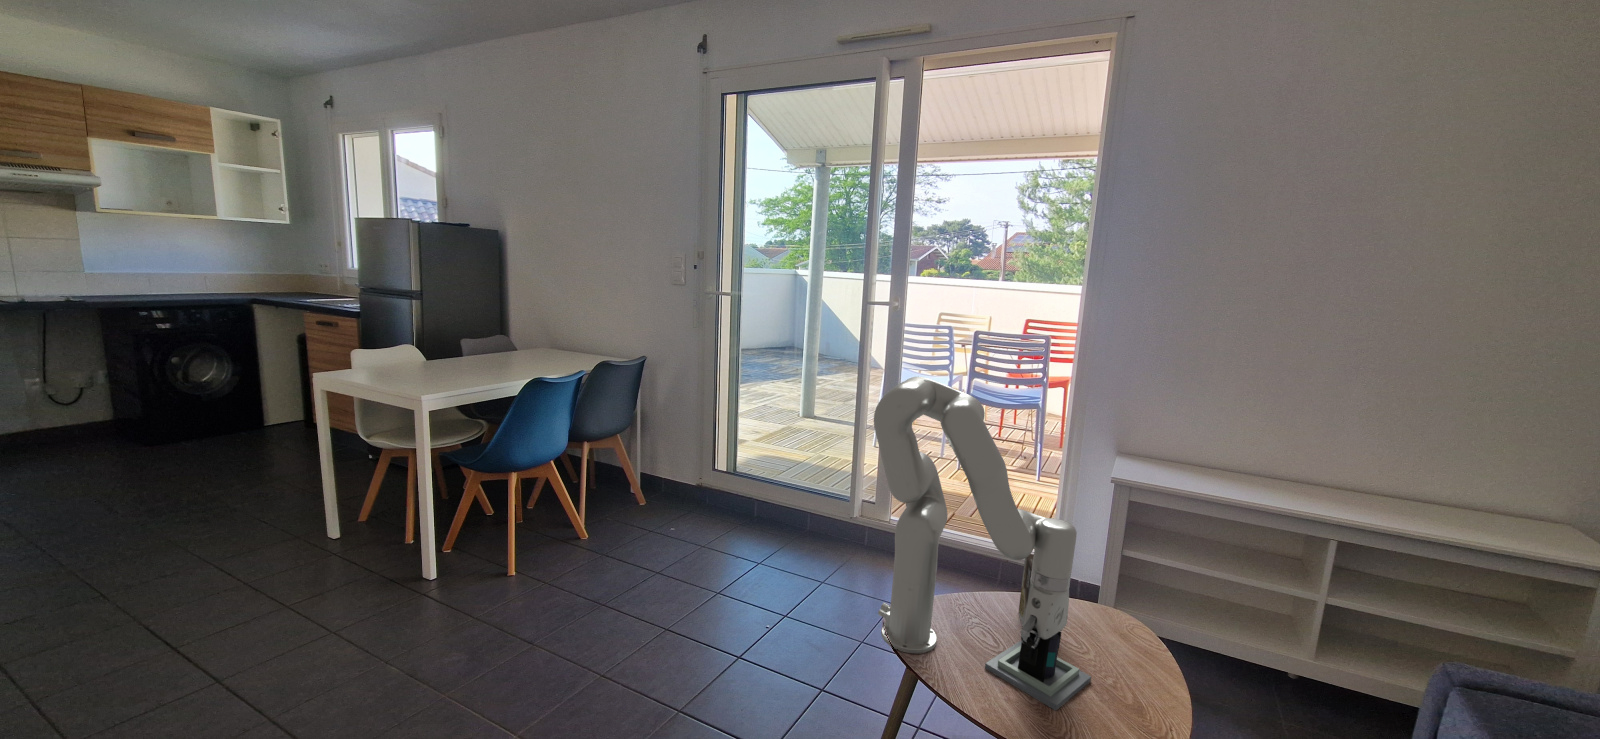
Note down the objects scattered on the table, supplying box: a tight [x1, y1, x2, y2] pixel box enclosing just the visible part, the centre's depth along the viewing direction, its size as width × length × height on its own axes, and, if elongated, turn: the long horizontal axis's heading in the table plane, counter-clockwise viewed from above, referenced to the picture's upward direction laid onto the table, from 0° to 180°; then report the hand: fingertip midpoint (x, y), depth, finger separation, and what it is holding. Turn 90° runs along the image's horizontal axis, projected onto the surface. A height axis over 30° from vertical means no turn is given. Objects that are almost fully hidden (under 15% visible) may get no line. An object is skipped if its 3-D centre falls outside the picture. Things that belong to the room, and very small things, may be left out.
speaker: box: [1018, 628, 1061, 682], centre depth 130 cm, size 8×6×10 cm
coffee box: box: [1018, 553, 1034, 627], centre depth 150 cm, size 9×6×16 cm
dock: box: [984, 639, 1092, 711], centre depth 131 cm, size 16×15×2 cm
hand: (1040, 653), depth 131 cm, fingers open, 9 cm apart
